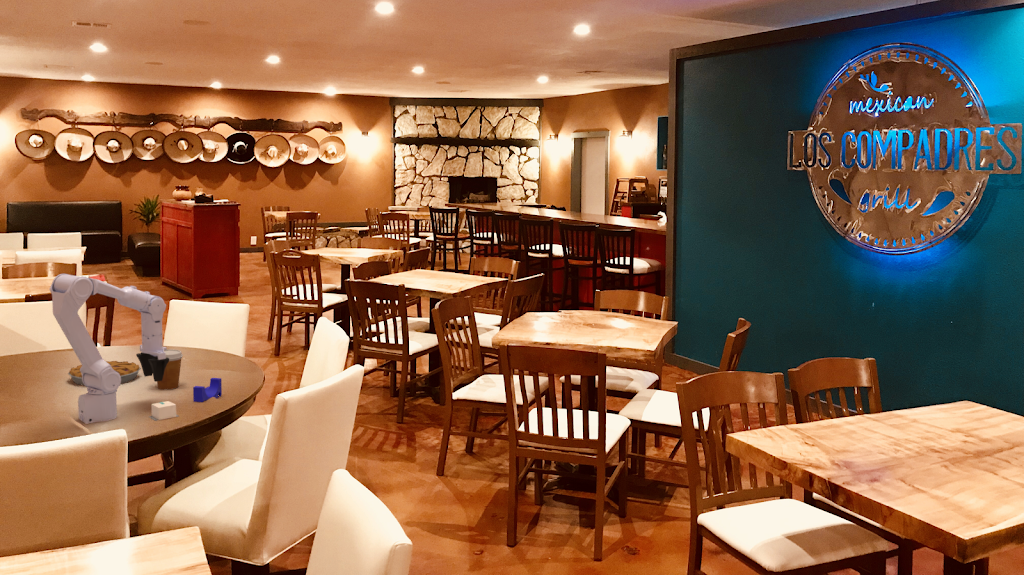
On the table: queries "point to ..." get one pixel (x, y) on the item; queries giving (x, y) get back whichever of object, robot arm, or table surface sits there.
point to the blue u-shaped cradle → (207, 390)
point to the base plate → (157, 419)
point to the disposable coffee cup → (171, 370)
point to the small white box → (163, 410)
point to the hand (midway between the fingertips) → (153, 378)
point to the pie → (123, 368)
